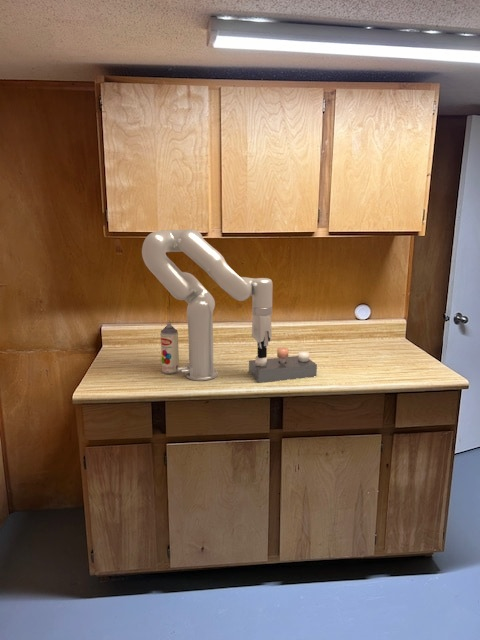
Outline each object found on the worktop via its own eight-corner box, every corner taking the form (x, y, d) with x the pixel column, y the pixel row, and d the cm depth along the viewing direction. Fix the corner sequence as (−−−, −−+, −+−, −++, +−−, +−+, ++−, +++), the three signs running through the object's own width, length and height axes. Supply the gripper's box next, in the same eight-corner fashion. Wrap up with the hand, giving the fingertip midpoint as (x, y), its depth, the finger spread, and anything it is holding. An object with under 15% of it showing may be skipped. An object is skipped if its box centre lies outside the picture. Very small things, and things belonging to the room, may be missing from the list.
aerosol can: (158, 372, 185) (156, 324, 181) (169, 367, 191) (167, 320, 186) (172, 375, 182) (170, 326, 177) (182, 370, 188) (181, 322, 183)
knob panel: (258, 382, 175) (258, 370, 173) (248, 372, 186) (248, 360, 185) (316, 376, 181) (316, 364, 180) (303, 366, 193) (304, 355, 191)
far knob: (300, 374, 183) (300, 354, 182) (295, 370, 188) (296, 351, 186) (310, 373, 185) (311, 354, 183) (305, 369, 189) (306, 350, 187)
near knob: (257, 379, 178) (257, 359, 176) (253, 375, 182) (253, 356, 181) (268, 378, 180) (268, 358, 178) (264, 374, 184) (264, 355, 182)
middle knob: (279, 370, 180) (279, 351, 178) (275, 367, 184) (275, 348, 183) (289, 369, 182) (290, 350, 180) (285, 366, 186) (285, 347, 184)
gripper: (246, 307, 181) (246, 352, 185) (259, 316, 167) (259, 364, 171) (264, 306, 183) (264, 350, 187) (278, 314, 169) (278, 362, 173)
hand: (262, 357), depth 179 cm, fingers closed
